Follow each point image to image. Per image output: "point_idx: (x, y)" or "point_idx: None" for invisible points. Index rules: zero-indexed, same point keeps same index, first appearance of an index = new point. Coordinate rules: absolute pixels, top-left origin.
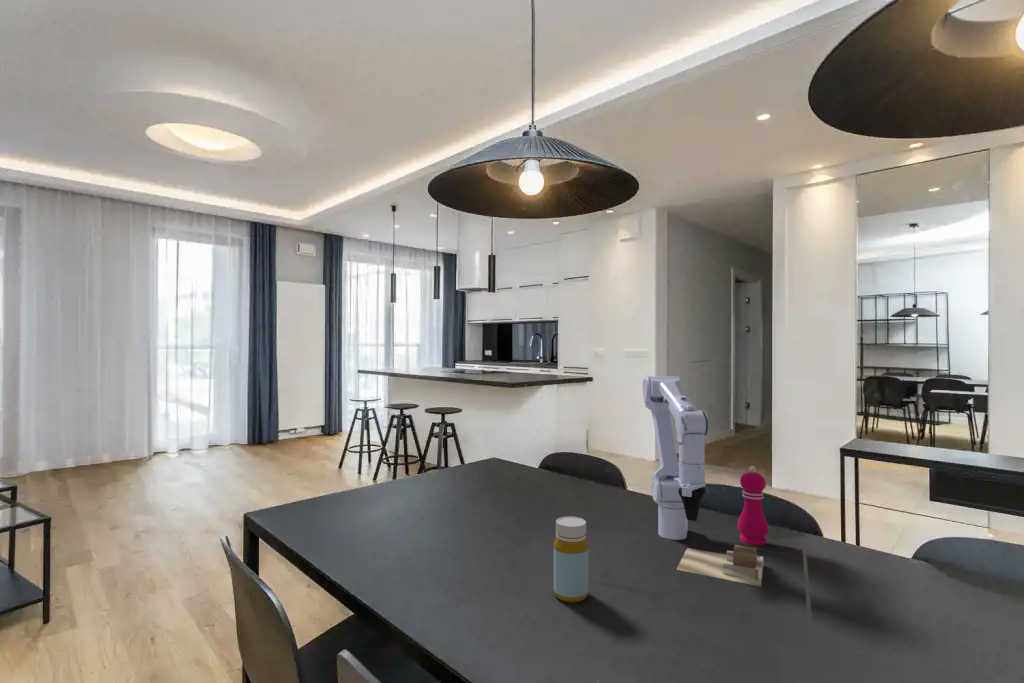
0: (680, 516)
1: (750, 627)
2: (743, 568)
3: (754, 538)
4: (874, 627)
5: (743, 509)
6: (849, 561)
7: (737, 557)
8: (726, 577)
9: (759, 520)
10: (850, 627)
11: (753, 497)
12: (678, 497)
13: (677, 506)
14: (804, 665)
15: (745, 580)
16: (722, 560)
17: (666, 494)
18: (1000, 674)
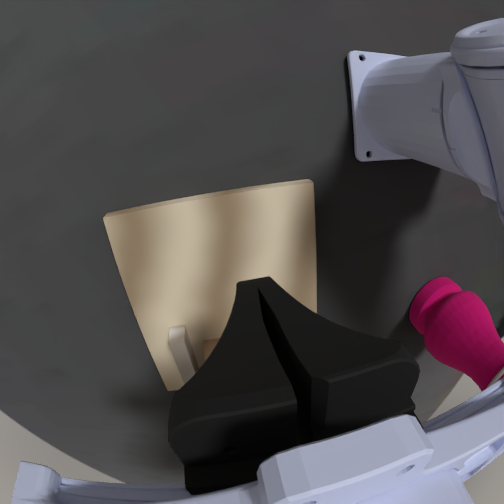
0: (430, 155)
1: (34, 382)
2: (185, 380)
3: (424, 325)
4: (173, 465)
5: (486, 335)
6: None
7: None
8: (156, 337)
9: (448, 364)
10: (150, 454)
11: None
12: (500, 164)
13: (461, 150)
14: (24, 421)
15: (173, 368)
16: None
17: (494, 99)
18: None
